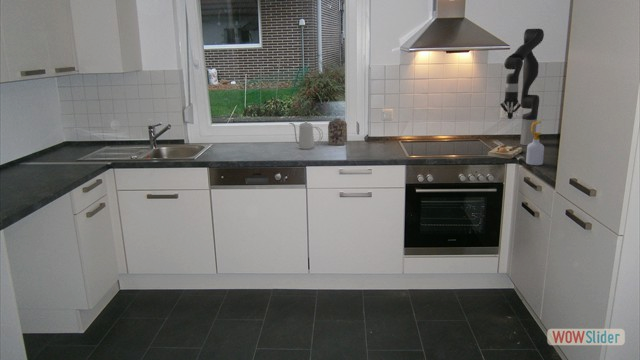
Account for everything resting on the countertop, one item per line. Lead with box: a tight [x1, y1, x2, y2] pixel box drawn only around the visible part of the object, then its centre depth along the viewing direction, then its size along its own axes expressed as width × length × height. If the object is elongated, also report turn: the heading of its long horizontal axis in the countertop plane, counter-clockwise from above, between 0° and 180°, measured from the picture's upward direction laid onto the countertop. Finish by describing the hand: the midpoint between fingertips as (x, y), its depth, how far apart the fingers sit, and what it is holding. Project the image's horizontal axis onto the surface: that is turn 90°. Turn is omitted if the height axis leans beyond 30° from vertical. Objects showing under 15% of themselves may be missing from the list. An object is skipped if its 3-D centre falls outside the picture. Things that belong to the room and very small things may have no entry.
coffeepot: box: [288, 120, 324, 150], centre depth 358 cm, size 11×25×19 cm, turn 68°
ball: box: [498, 148, 507, 153], centre depth 322 cm, size 5×5×5 cm
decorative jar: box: [327, 117, 348, 146], centre depth 370 cm, size 12×12×18 cm
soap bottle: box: [525, 120, 545, 166], centre depth 297 cm, size 9×9×25 cm
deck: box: [487, 143, 523, 160], centre depth 326 cm, size 24×14×4 cm, turn 144°
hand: (509, 118), depth 326 cm, fingers closed
